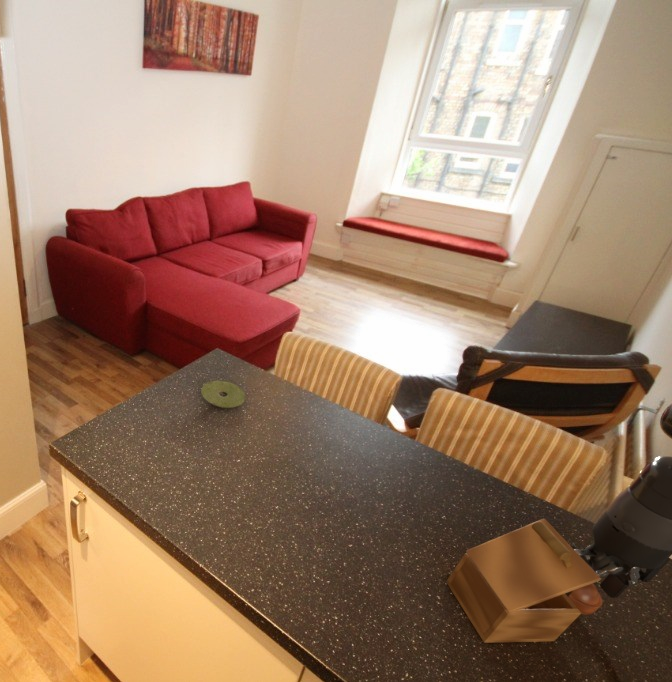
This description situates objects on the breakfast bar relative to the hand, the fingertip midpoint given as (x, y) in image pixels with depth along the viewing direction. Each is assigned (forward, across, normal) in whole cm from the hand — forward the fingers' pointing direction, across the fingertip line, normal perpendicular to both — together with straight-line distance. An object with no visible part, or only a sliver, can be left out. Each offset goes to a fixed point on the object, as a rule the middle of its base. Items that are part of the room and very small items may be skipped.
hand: (582, 592), depth 70 cm
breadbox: (+4, +12, 0) cm, 13 cm away
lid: (-7, +13, 0) cm, 15 cm away
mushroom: (+5, +1, 0) cm, 5 cm away
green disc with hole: (+3, +48, -53) cm, 71 cm away
